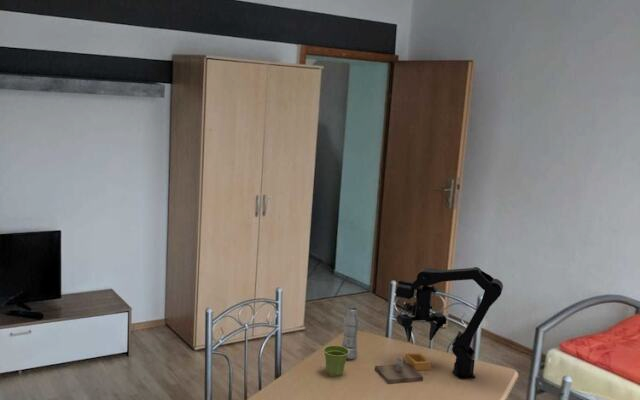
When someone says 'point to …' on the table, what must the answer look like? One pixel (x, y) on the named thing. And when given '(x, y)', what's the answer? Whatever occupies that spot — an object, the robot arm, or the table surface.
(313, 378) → the table surface
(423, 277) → the robot arm
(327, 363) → the plant pot
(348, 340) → the plastic bottle
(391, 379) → the keeper board
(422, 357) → the tan rectangular frame
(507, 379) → the table surface
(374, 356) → the table surface
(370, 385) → the table surface
